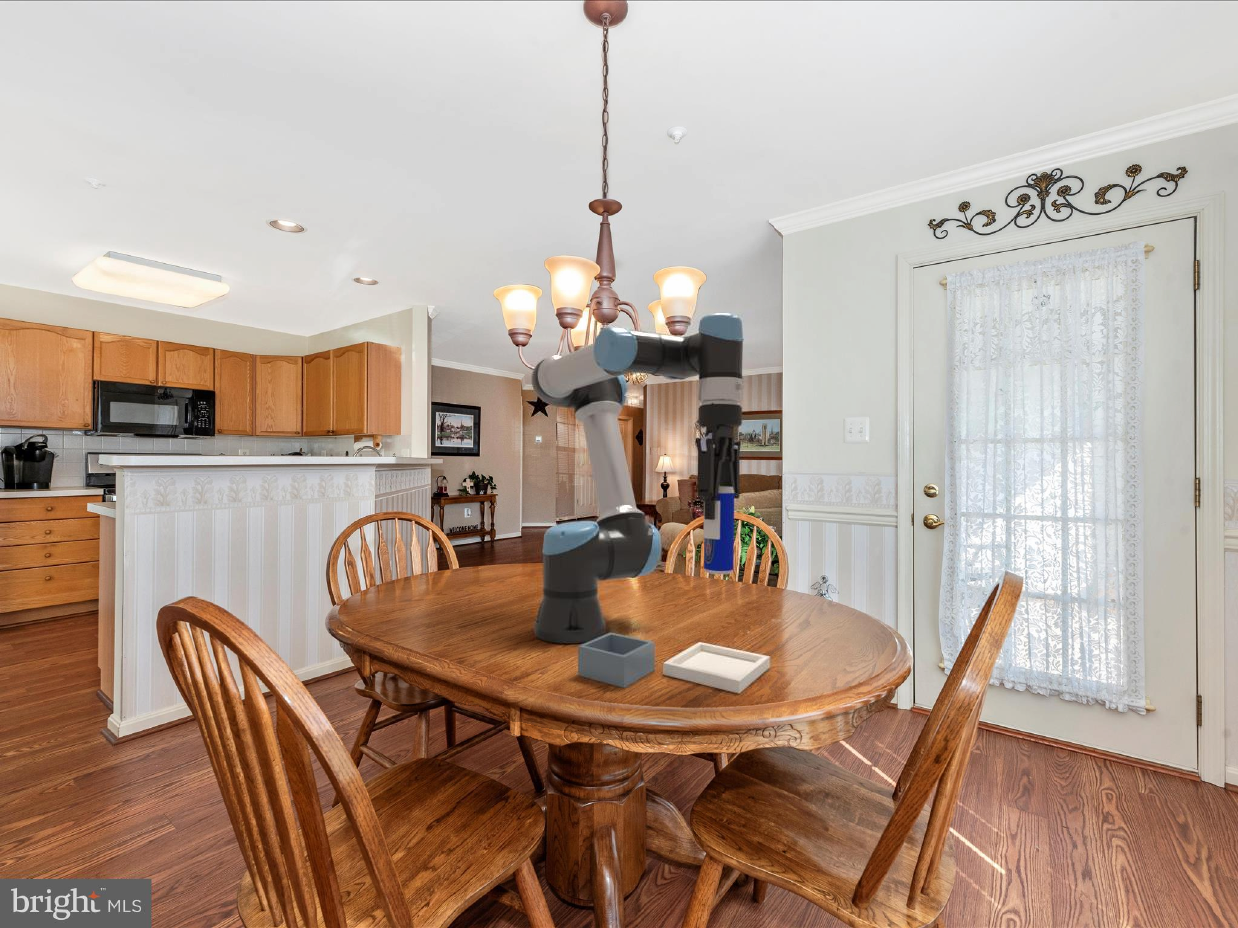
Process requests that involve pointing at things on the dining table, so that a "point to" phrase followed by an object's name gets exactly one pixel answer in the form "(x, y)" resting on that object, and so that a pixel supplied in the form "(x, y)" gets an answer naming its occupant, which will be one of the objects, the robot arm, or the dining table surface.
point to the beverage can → (722, 537)
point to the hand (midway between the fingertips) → (718, 536)
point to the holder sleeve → (616, 659)
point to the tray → (717, 666)
